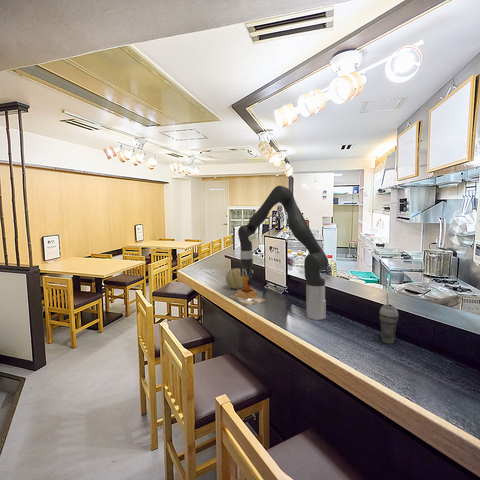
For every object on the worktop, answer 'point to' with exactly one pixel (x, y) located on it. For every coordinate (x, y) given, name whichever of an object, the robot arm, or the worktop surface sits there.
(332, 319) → the worktop surface
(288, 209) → the robot arm
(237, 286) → the cantaloupe
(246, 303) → the base board
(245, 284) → the carrot
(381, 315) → the beverage cup
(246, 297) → the socket collar
